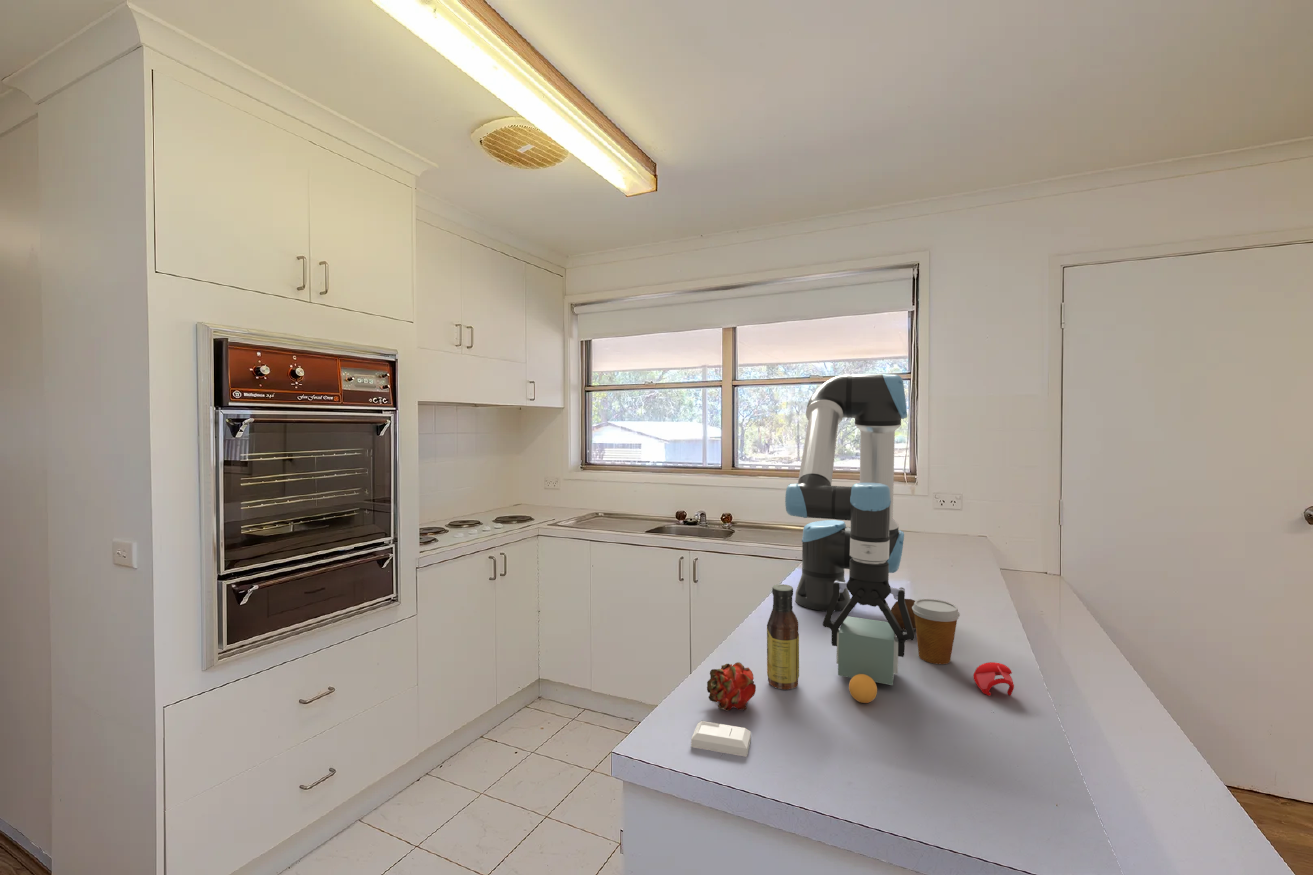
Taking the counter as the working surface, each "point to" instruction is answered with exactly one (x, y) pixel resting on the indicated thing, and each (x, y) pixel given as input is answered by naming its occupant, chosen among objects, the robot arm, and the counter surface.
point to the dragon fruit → (731, 686)
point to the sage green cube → (866, 649)
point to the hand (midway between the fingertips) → (866, 666)
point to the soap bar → (721, 738)
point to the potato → (897, 613)
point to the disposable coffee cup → (935, 629)
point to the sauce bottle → (782, 640)
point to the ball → (863, 688)
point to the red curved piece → (992, 677)
